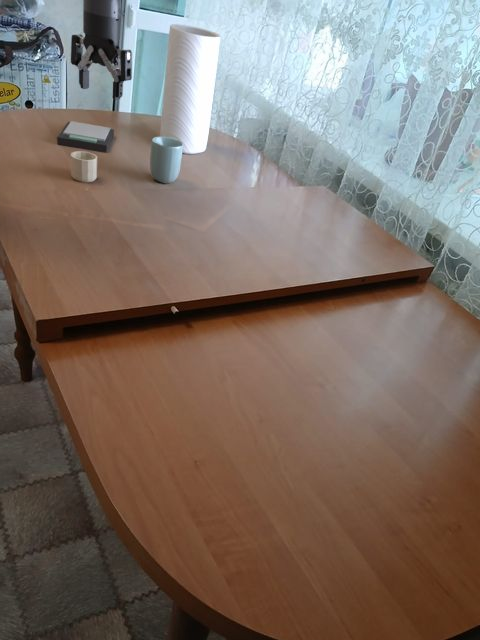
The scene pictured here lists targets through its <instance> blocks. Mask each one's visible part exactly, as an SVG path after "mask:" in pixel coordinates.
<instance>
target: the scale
mask: <svg viewBox="0 0 480 640" xmlns="http://www.w3.org/2000/svg"><path fill="white" fill-rule="evenodd" d="M114 138H115V129H113V128H111V127H108V126H101V125H96V124H90V123H84V122H80V121H79V122H78V121H72V120H71V121H67V122H66V124H65V125H64V127H63V128H62V130H61V131H60V133H59V134H58V135H57V137H56V142H57V143H56V144H57V145H59V146H65V147H71V148H75V149H76V148H77V149H83V150H88V151H94V152H100V153H107V152H108V151H109V148H110V146H111V143H112V141H113V139H114Z"/></svg>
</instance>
